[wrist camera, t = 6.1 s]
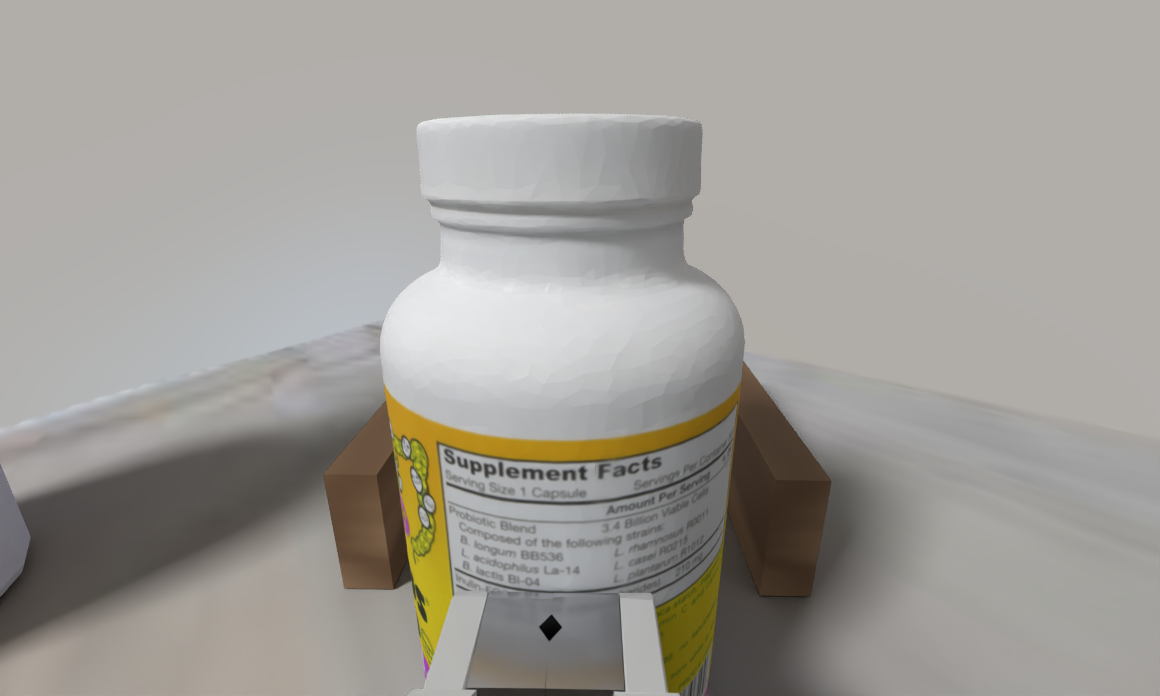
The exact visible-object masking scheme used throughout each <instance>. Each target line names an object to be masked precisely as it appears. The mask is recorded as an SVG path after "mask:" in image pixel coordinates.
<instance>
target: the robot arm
mask: <svg viewBox="0 0 1160 696" xmlns="http://www.w3.org/2000/svg"><path fill="white" fill-rule="evenodd" d="M406 696H681V695H680V694H679V693H668V689H667V682H666V675H665V668H664V662H663V655H662V648H661V641H660V634H659V628H658V621H657V614H656V607H655V601H654V597H653V595H652V594H651V593H619V595H618V593H532V592H507V591H490V592H485V591H463V590H457V592H456V593H455V595H454V596H453V598H452V599H451V603H450V606H449V609H448V612H447V615H446V618H445V622H444V625H443V628H442V631H441V634H440V637H439V641H438V644H437V647H436V650H435V653H434V656H433V660H432V663H431V666H430V669H429V672H428V675H427V678H426V682H425V685H424V688H423V689H412V690H411V691H410V692H409V693H408V694H407V695H406Z"/></svg>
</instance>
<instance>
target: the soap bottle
mask: <svg viewBox="0 0 1160 696" xmlns="http://www.w3.org/2000/svg"><path fill="white" fill-rule="evenodd" d="M30 538H31V536H30V534H29V531H28V529H27V526H26V524H25V522H24V519H23V517H22V515H21V512H20V510H19V507H18V505H17V503H16V500H15V498H14V495H13V493H12V491H11V488H10V486H9V483H8V481H7V479H6V476H5V474H4V471H3V469H2V467H1V464H0V597H1V596H2V594H3V593H4V592H5V591H6V590H7V589H8V588H9V586H10V585H11V584H12V583H13V582H14V581H15V580H16V579H17V577H18V576H19V575H20V574H21V573H22V571H23V567H24V563H25V559H26V555H27V551H28V547H29V542H30Z"/></svg>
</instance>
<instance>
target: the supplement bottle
mask: <svg viewBox="0 0 1160 696" xmlns="http://www.w3.org/2000/svg"><path fill="white" fill-rule="evenodd" d="M416 133H417V144H418V156H419V168H420V182H421V195H422V197H423V198H425V199H427V200H428V201H429V202H430V204H431V216H432V217H433V218H434V219H435V220H437V221H438V222H439V223H440V226H441V260H440V264H439V266H438V267H437V268H436V269H434V270H432V271H430V272H427V273H426V274H424V275H423V276H421V277H420V278H418V279H417V280H415V281H414V282H413V283H411V284H410V285H409V286H408V287H407V288H406V289H405V290H404V291H403V292H401V293H400V294H399V296H398V297H397V299H396V300H395V301H394V303H393V304H392V306H391V307H390V309H389V311H388V313H387V316H386V318H385V321H384V323H383V328H382V332H381V338H380V356H381V364H382V372H383V382H384V389H385V395H386V402H387V409H388V415H389V422H390V428H391V435H392V444H393V451H394V458H395V465H396V471H397V478H398V485H399V492H400V500H401V507H402V514H403V521H404V529H405V536H406V543H407V552H408V558H409V564H410V571H411V580H412V587H413V594H414V601H415V608H416V614H417V621H418V631H419V637H420V643H421V651H422V659H423V665H424V672H425V679H426V678H427V675H428V672H429V669H430V666H431V663H432V660H433V656H434V653H435V650H436V647H437V644H438V641H439V637H440V634H441V631H442V628H443V625H444V622H445V618H446V615H447V612H448V609H449V606H450V603H451V599H452V598H453V596H454V595H455V593H456V592H457V590H463V591H485V592H490V591H507V592H532V593H618V595H619V593H651V594H652V595H653V597H654V601H655V607H656V614H657V621H658V628H659V634H660V641H661V648H662V655H663V662H664V668H665V675H666V682H667V689H668V693H679V694H680V695H681V696H707V693H708V684H709V675H710V667H711V658H712V649H713V639H714V630H715V620H716V611H717V602H718V592H719V583H720V573H721V564H722V555H723V545H724V536H725V526H726V517H727V507H728V497H729V486H730V478H731V469H732V460H733V451H734V442H735V434H736V425H737V417H738V408H739V400H740V390H741V379H742V367H743V356H744V344H745V340H744V330H743V324H742V321H741V318H740V315H739V313H738V310H737V308H736V306H735V305H734V303H733V301H732V299H731V298H730V296H729V295H728V294H727V292H726V291H725V290H724V289H723V288H722V287H721V286H720V285H719V284H718V283H717V282H716V281H715V280H713V279H712V278H711V277H709V276H708V275H706V274H705V273H704V272H702V271H700V270H698V269H697V268H695V267H693V266H690V265H688V264H687V262H686V261H685V257H684V252H683V241H684V240H683V239H684V233H683V224H684V219H685V218H688V217H689V216H691V215H692V211H693V205H692V199H693V198H694V197H695V196H697V195H699V193H700V190H701V189H700V187H701V150H702V126H701V123H700V122H699V121H697V120H693V119H688V118H681V117H672V116H657V115H628V114H626V115H625V114H517V115H515V114H514V115H488V116H469V117H453V118H442V119H434V120H429V121H424V122H421V123H420V124H419V125H418V126H417V130H416Z"/></svg>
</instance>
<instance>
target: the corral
mask: <svg viewBox="0 0 1160 696" xmlns="http://www.w3.org/2000/svg"><path fill="white" fill-rule="evenodd" d="M323 477H324V482H325V488H326V493H327V498H328V504H329V509H330V514H331V520H332V525H333V530H334V536H335V541H336V546H337V552H338V557H339V562H340V568H341V573H342V578H343V584H344V588H357V589H394V587H395V585H396V582H397V580H398V578H399V576H400V574H401V572H402V569H403V567H404V565H405V563H406V561H407V559H408V552H407V543H406V536H405V529H404V521H403V514H402V507H401V500H400V492H399V485H398V478H397V471H396V465H395V458H394V451H393V444H392V435H391V428H390V422H389V415H388V409H387V402H386V401H385V402H384V403H383V405H382V406H381V407H380V408H379V409H378V411H377V412H376V413H375V414H374V415H373V416H372V418H371V419H370V420H369V421H368V422H367V423H366V425H365V426H364V427H363V428H362V429H361V430H360V432H359V433H358V434H357V435H356V436H355V437H354V439H353V440H352V441H351V442H350V443H349V445H348V446H347V447H346V448H345V449H344V450H343V452H342V453H341V454H340V455H339V456H338V457H337V459H336V460H335V461H334V462H333V463H332V464H331V466H330V467H329V468H328V469H327V470H326V472H325V473H324V474H323ZM830 486H831V480H830V478H829V477H828V475H827V474H826V473H825V471H824V470H823V469H822V467H821V466H820V465H819V463H818V462H817V461H816V459H815V458H814V456H813V455H812V454H811V452H810V451H809V450H808V448H807V447H806V446H805V444H804V443H803V441H802V440H801V439H800V437H799V436H798V435H797V433H796V432H795V431H794V429H793V428H792V426H791V425H790V424H789V422H788V421H787V420H786V418H785V417H784V416H783V414H782V413H781V411H780V410H779V409H778V407H777V406H776V405H775V403H774V402H773V401H772V399H771V398H770V396H769V395H768V394H767V392H766V391H765V390H764V388H763V387H762V386H761V384H760V383H759V382H758V380H757V379H756V377H755V376H754V375H753V373H752V372H751V371H750V369H749V368H748V367H747V365H746V364H745V362H744V361H743V367H742V379H741V390H740V400H739V408H738V417H737V425H736V434H735V442H734V451H733V460H732V469H731V478H730V486H729V497H728V507H727V511H728V513H729V516H730V519H731V521H732V524H733V527H734V529H735V532H736V535H737V537H738V540H739V542H740V545H741V548H742V550H743V553H744V556H745V558H746V561H747V564H748V566H749V569H750V572H751V574H752V577H753V579H754V582H755V585H756V587H757V590H758V593H759V595H760V596H811V590H812V585H813V579H814V574H815V568H816V563H817V557H818V552H819V546H820V541H821V535H822V530H823V524H824V519H825V513H826V508H827V502H828V497H829V491H830Z"/></svg>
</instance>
